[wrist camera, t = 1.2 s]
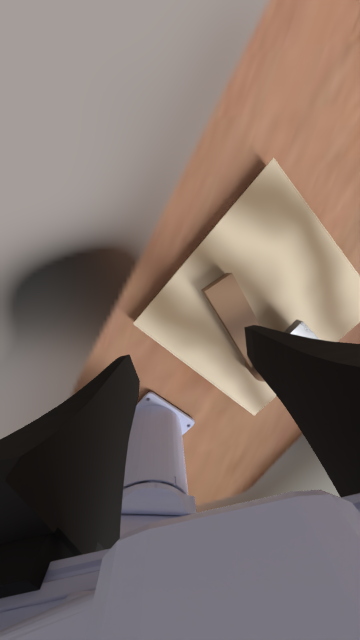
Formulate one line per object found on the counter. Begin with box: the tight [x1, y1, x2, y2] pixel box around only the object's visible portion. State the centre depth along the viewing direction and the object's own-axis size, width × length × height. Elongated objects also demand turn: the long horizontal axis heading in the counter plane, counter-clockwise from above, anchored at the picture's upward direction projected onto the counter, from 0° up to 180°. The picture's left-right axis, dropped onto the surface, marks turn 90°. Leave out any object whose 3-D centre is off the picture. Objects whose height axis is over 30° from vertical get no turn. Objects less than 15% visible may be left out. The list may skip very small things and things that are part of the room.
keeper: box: [284, 319, 320, 340], centre depth 19 cm, size 3×6×3 cm, turn 48°
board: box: [133, 158, 360, 415], centre depth 20 cm, size 20×20×1 cm
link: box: [201, 273, 265, 382], centre depth 18 cm, size 13×4×3 cm, turn 33°
